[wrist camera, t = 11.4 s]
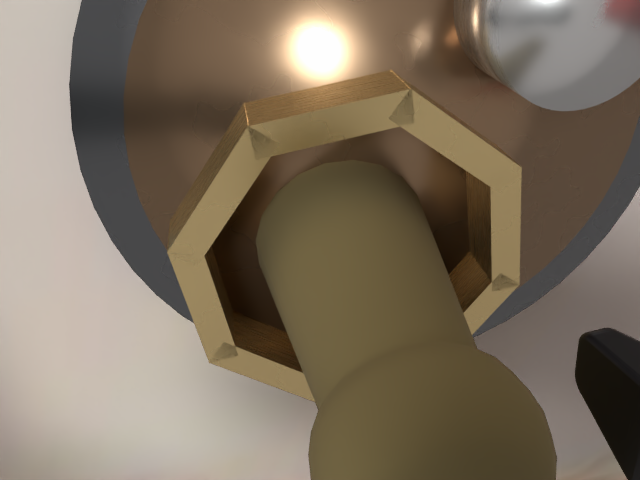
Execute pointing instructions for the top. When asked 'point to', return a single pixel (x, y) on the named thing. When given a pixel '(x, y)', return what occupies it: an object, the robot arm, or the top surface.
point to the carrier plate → (353, 140)
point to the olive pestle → (389, 339)
